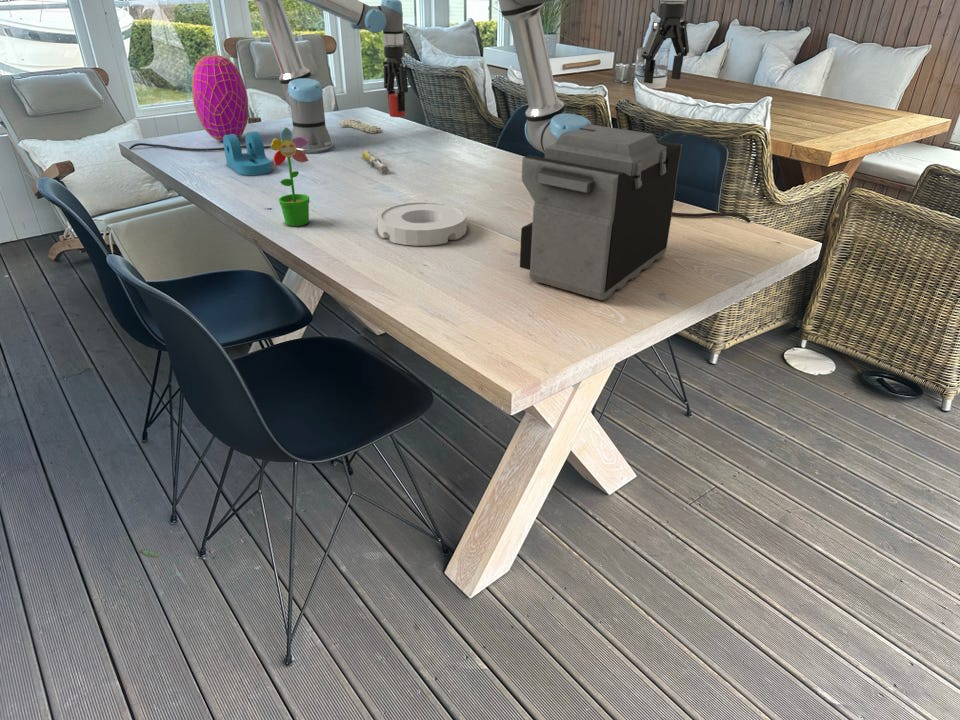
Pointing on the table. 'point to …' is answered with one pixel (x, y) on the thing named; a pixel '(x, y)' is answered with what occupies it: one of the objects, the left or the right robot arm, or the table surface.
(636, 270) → the grey cooler box
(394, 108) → the canister
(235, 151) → the camera mount
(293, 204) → the potted flower
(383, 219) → the ashtray
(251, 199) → the table surface
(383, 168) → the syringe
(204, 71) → the decorative egg
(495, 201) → the table surface
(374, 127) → the decorative sign
